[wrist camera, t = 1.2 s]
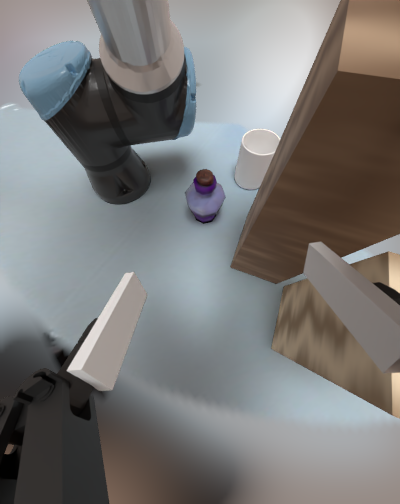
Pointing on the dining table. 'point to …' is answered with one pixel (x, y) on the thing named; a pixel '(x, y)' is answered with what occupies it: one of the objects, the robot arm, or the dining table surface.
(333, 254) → the robot arm
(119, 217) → the dining table surface
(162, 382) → the dining table surface
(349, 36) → the post
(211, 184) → the potion bottle
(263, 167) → the cup
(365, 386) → the oak block
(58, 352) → the dining table surface
